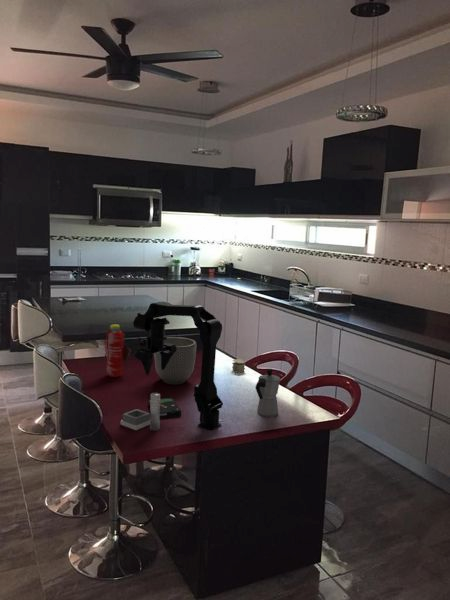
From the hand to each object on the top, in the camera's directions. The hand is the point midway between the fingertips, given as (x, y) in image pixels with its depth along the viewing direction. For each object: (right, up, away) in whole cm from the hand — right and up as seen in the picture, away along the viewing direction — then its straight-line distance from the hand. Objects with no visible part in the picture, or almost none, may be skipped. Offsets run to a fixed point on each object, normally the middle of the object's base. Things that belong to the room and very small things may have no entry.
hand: (155, 372), depth 201 cm
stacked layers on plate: (+35, -8, +59) cm, 69 cm away
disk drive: (+3, -16, +1) cm, 16 cm away
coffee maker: (+44, -17, +2) cm, 47 cm away
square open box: (-5, -17, -14) cm, 23 cm away
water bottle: (-24, -8, +44) cm, 51 cm away
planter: (+4, -10, +38) cm, 39 cm away
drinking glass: (+2, -18, -17) cm, 25 cm away
